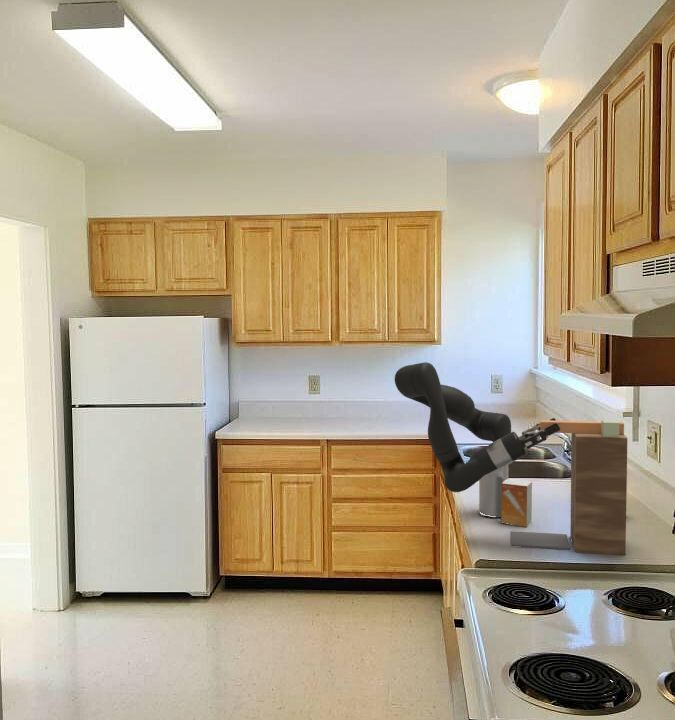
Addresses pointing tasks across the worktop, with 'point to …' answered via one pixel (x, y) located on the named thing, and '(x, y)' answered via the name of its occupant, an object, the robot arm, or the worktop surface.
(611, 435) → the sage block
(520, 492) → the small box
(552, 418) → the robot arm
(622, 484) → the stand
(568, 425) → the brown block
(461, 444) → the worktop surface
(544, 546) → the mat
